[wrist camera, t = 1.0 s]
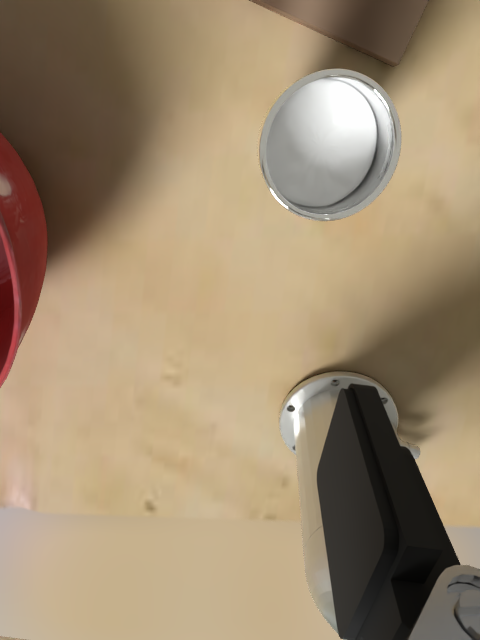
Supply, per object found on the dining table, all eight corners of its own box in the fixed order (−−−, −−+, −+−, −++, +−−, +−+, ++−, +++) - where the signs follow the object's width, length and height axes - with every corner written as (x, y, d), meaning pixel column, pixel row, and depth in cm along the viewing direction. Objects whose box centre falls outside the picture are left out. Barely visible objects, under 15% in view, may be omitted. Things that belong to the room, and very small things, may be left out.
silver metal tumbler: (249, 171, 33) (235, 200, 20) (278, 79, 30) (284, 38, 17) (327, 198, 34) (365, 243, 20) (363, 110, 31) (436, 93, 17)
